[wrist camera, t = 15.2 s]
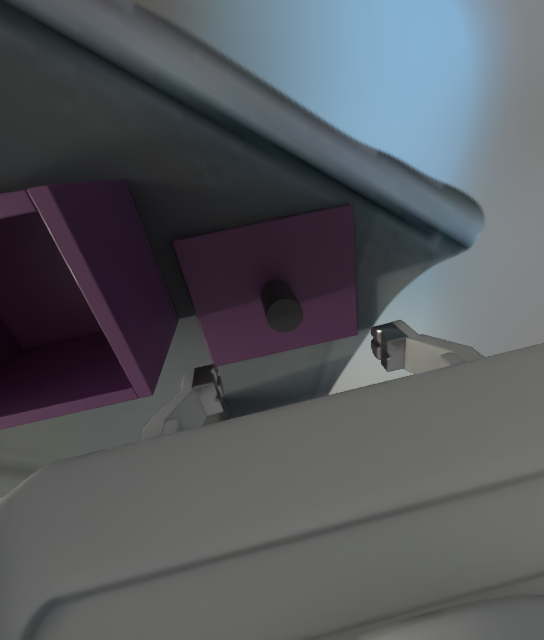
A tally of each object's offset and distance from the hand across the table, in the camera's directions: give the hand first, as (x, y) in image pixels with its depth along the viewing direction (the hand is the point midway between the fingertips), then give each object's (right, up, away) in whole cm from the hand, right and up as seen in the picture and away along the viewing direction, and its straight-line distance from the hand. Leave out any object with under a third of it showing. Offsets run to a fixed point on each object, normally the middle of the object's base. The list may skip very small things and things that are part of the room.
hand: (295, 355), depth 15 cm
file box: (-16, +5, +6) cm, 18 cm away
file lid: (-1, +4, +9) cm, 10 cm away
